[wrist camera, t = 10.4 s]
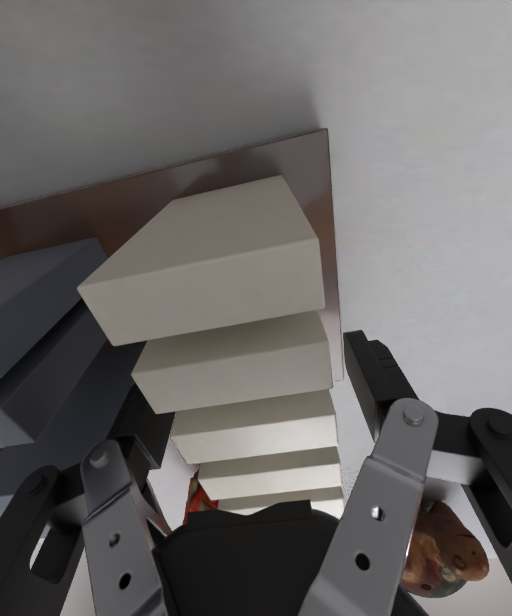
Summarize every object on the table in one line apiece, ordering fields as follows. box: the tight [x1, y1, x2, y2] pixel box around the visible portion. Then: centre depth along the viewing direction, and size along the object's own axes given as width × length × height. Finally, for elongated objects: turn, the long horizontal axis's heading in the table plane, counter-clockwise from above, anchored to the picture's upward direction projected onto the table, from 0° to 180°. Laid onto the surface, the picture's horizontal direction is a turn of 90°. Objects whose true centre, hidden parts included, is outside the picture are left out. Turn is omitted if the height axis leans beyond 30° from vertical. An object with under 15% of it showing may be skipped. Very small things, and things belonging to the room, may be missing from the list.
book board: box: [0, 128, 344, 381], centre depth 18 cm, size 16×20×2 cm
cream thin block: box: [170, 389, 338, 464], centre depth 13 cm, size 2×6×9 cm, turn 102°
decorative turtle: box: [401, 501, 489, 598], centre depth 32 cm, size 10×15×8 cm, turn 170°
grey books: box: [0, 237, 147, 538], centre depth 14 cm, size 11×6×9 cm, turn 12°
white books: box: [77, 175, 345, 517], centre depth 13 cm, size 13×6×9 cm, turn 12°
